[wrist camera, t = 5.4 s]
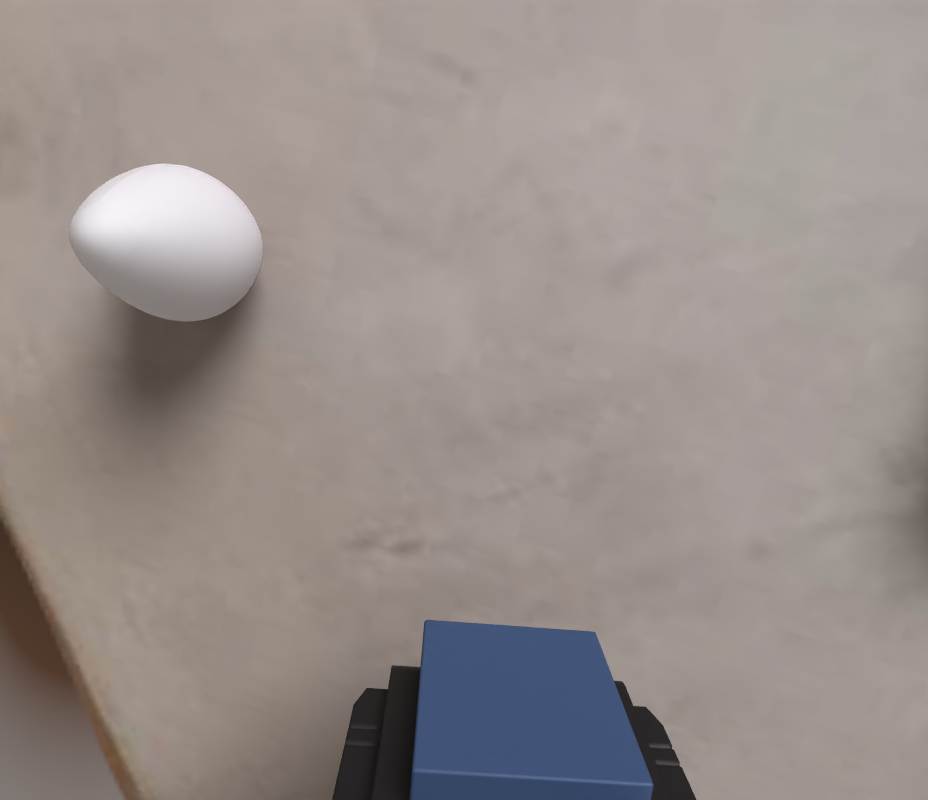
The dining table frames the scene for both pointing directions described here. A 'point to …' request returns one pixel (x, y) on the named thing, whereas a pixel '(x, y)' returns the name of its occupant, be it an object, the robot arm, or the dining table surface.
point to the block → (521, 718)
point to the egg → (169, 242)
